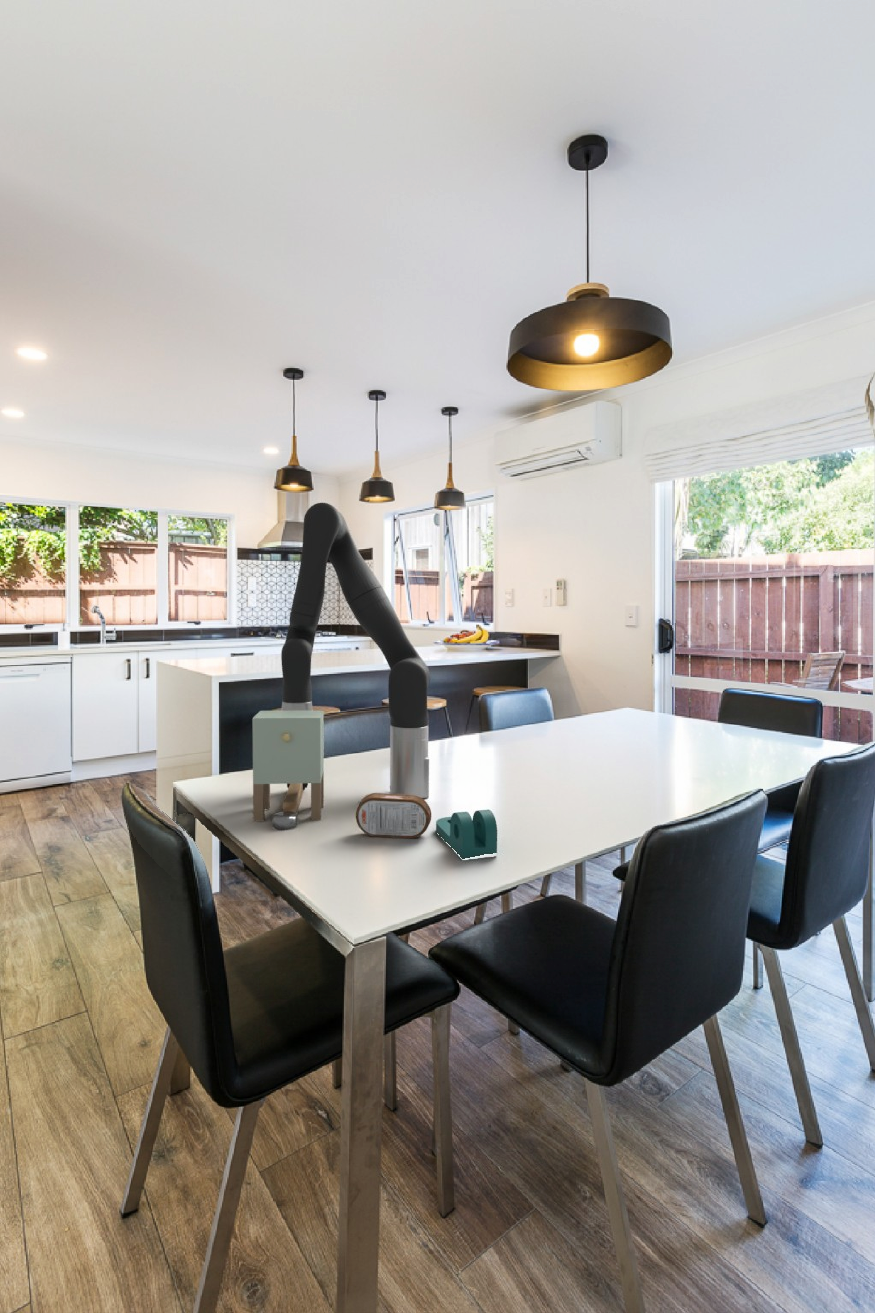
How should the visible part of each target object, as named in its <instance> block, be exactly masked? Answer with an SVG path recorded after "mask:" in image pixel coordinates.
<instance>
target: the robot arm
mask: <svg viewBox="0 0 875 1313" xmlns="http://www.w3.org/2000/svg"><path fill="white" fill-rule="evenodd" d="M328 560H329V561H330V564H331V566H332V567H333V568H334V572H335V573H336V576H337V579H338V582H339V585H340V589H341V592H342V594H343V597H344V599H345V601H346V603H347V605H348V607H349V608H350V610H351V613H352V614H353V616H354V618H355V619H356V621H357V622H358V624H359V625H360V626H361V627H362V630H364V632H365V633H366V634H367V635H368V636H369V637H370V638H371V639H372V641H373V642H374V644H376V646H377V647H378V649H380V651H381V652H382V655H383V656H384V658H385V660H386V664H388V667H389V669H390V672H389V676H388V681H387V682H388V684H387V685H388V714H389V719H390V724H389V725H390V726H389V727H390V730H389V731H390V732H389V735H390V737H389V739H390V740H389V741H390V742H389V744H390V745H389V794H405V795H416V796H418V797H420V798H422V799H426V798H429V796H430V794H429V793H430V792H429V791H430V758H429V721H430V720H429V717H430V716H429V712H428V686H429V684H430V681H431V672H430V669H429V667H428V665H427V664H426V662H425V661H424V659H423V658H422V657H421V655H420V654H419V653H418V652H417V649H415V647H414V645H413V644H412V643H411V641H410V639H409V637H408V636H407V634H406V632H405V630H404V628H403V625H402V624H401V621H400V619H399V617H398V615H397V613H396V611H395V609H394V607H393V605H392V603H391V601H390V598H389V597H388V595H387V593H386V592H385V590H384V588H383V586H382V585H381V583H380V581H379V580H378V578H377V577H376V575H375V574H374V572H373V570H372V569H371V567H370V566H369V565H368V564H367V562H366V561H365V559H364V558H363V557H362V555H361V553H360V551H359V550H358V548H357V545H356V543H355V541H354V539H353V537H352V534H351V532H350V530H349V527H348V525H347V522H346V519H345V517H344V516H343V513H341V512H340V511H339V510H338V509H337V508H336V507H335V506H333V505H332V504H331V503H328V502H317V503H314V504H313V505H311V506H310V507H309V508H308V509H307V511H305V513H304V518H303V528H302V548H301V557H300V564H299V571H298V575H297V576H298V577H297V582H296V586H295V591H294V595H293V599H292V603H291V609H290V612H289V624H288V625H289V626H288V629H287V633H286V637H285V641H284V643H283V646H282V647H281V653H280V654H281V656H280V658H281V670H282V672H281V673H282V689H281V691H282V694H281V695H282V697H281V698H282V703H281V709H280V711H314V708H313V687H312V681H311V676H312V655H313V650H314V644H315V639H316V638H315V637H316V633H317V632H316V630H317V627H318V624H319V622H320V618H321V612H322V610H323V605H324V597H325V591H326V590H325V589H326V584H325V583H326V575H327V574H326V573H327V572H326V571H327V564H328ZM308 785H309V783H303V790H304V791H305V790H306V788H308ZM289 786H290V784H286V787H287V789H288V788H289Z"/></svg>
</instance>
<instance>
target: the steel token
mask: <svg viewBox="0 0 875 1313" xmlns="http://www.w3.org/2000/svg"><path fill="white" fill-rule="evenodd" d="M297 827H298V812H297V813H295V812H283V811H280V812H275V813H273V814H272V828H273V830H278V831H288V830H293V829H296V828H297Z"/></svg>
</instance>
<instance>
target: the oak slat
mask: <svg viewBox="0 0 875 1313" xmlns="http://www.w3.org/2000/svg"><path fill="white" fill-rule="evenodd" d="M304 791H305V790H303V783H292V784H290V786H289V788H288V787H287V791H286V794H285V796H284V799H283V800H282V812H295V813H297V814H298V811H299V808H300V806H301V802H302V798H303V795H304Z"/></svg>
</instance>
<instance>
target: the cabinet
mask: <svg viewBox="0 0 875 1313" xmlns="http://www.w3.org/2000/svg"><path fill="white" fill-rule="evenodd" d="M324 713H325V712H324V710H323V709H322V710H313V711H281V710H259V711H258V713H256V714H255V715H254V716H253V717H252V797H253V798H252V805H253V806H252V807H253V808H252V811H253V812H252V813H253V818H252V820H253V822H264V821H265V817H266V816H265V812H266V811H265V809H268V810H270V808H271V785H277V784H278V785H280V784H281V785H282V784H283V785H284V784H285V785H287V784H292V783H308V784H310V820H311V821H318V820H319V821H320V820H321V819H322V809H324V806H325V805H324V804H325V800H324V799H325V798H324V797H325V796H324V795H325V794H324V792H325V790H324V789H325V788H324V786H325V783H324V782H325V780H324V778H325V776H324V774H325V773H324V772H325V768H324V767H325V766H324V764H325V763H324V761H325V760H324V759H325V758H324V756H325V755H324V754H325V749H324V747H325V744H324V743H325V742H324V741H325V738H324V737H325V735H324V732H325V729H324V728H325V727H324V722H325V721H324V716H325V714H324Z"/></svg>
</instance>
